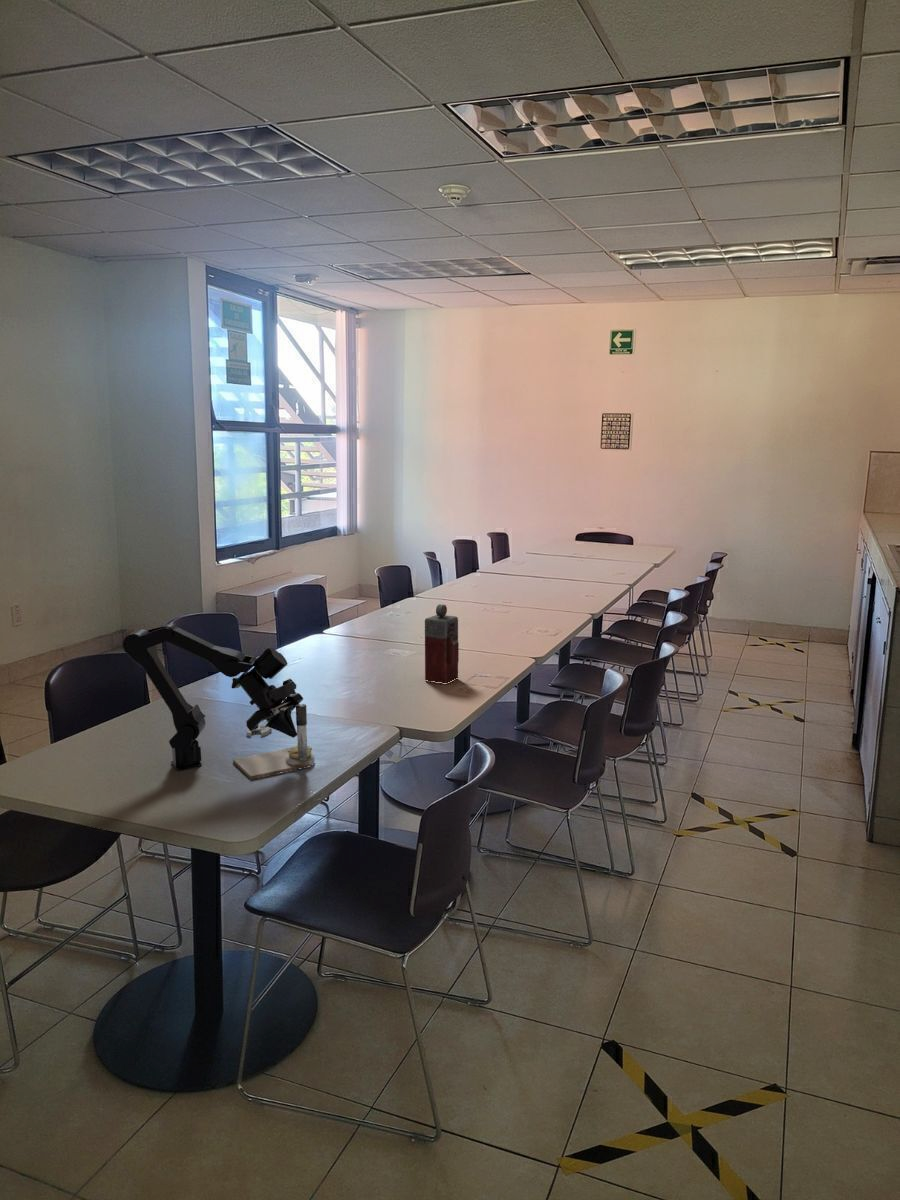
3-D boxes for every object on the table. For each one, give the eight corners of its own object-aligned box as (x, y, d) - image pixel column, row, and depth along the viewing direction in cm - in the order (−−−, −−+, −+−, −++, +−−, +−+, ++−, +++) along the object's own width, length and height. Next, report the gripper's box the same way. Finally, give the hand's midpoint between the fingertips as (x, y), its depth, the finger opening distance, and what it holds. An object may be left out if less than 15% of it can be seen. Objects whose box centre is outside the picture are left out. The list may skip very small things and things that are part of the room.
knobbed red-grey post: (451, 685, 301) (451, 608, 296) (424, 681, 307) (424, 605, 302) (463, 679, 309) (464, 604, 304) (437, 675, 314) (437, 601, 309)
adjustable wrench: (285, 712, 273) (285, 707, 273) (303, 714, 271) (302, 709, 271) (243, 737, 250) (243, 731, 250) (262, 739, 248) (262, 733, 248)
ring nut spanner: (286, 752, 230) (284, 696, 227) (310, 750, 231) (308, 694, 229) (291, 766, 220) (289, 708, 217) (315, 763, 222) (314, 705, 219)
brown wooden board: (251, 779, 217) (250, 772, 217) (233, 762, 228) (232, 755, 228) (319, 765, 227) (319, 757, 227) (298, 749, 238) (298, 742, 238)
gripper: (253, 681, 211) (292, 729, 209) (296, 663, 228) (332, 707, 226) (229, 707, 216) (267, 755, 214) (273, 688, 233) (308, 732, 230)
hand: (295, 736), depth 221 cm, fingers closed
